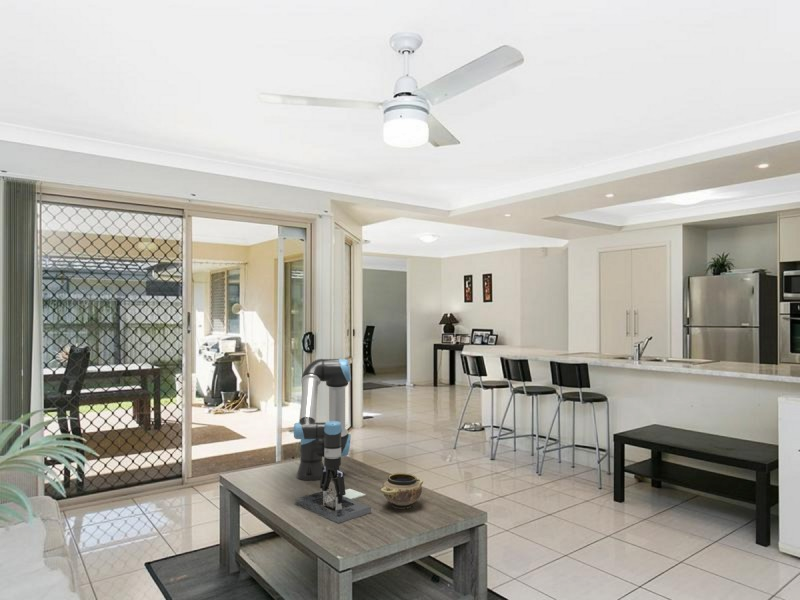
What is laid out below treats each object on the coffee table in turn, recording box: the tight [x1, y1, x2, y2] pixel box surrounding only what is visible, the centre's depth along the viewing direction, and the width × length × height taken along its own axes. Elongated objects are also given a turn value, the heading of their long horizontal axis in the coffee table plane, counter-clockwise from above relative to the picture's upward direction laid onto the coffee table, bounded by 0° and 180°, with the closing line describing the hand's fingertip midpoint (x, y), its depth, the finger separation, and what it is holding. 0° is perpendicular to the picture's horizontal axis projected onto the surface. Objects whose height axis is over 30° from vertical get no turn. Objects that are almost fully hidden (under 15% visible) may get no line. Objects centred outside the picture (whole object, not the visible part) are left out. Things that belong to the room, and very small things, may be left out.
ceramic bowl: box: [380, 472, 424, 510], centre depth 246 cm, size 24×18×15 cm
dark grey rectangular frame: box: [294, 490, 372, 524], centre depth 242 cm, size 32×18×3 cm, turn 44°
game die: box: [323, 488, 343, 511], centre depth 242 cm, size 9×8×10 cm
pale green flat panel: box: [343, 488, 366, 500], centre depth 259 cm, size 12×12×1 cm
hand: (332, 507), depth 242 cm, fingers open, 9 cm apart
